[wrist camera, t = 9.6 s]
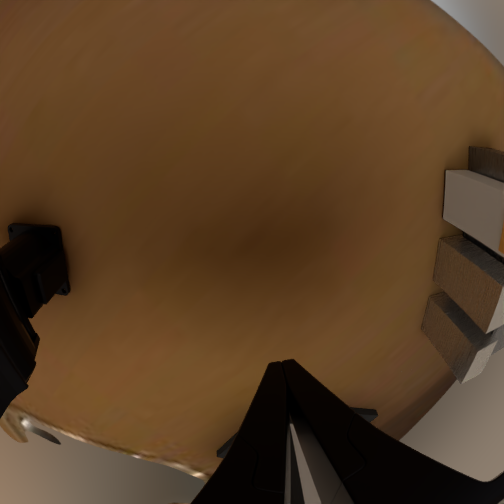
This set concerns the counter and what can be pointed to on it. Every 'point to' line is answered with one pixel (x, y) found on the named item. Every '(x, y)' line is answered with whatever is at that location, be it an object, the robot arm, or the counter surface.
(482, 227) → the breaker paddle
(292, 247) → the counter surface
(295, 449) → the lantern
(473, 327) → the box
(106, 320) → the counter surface
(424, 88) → the counter surface
